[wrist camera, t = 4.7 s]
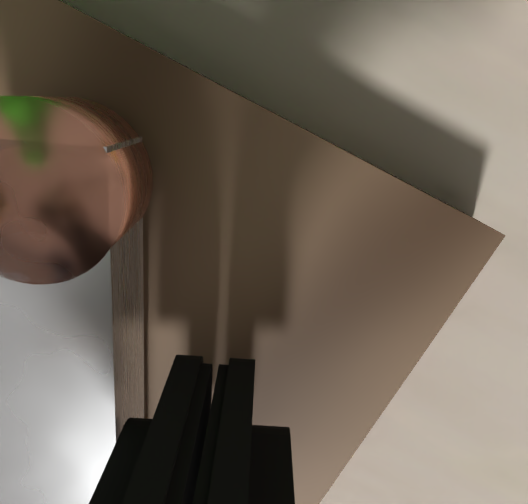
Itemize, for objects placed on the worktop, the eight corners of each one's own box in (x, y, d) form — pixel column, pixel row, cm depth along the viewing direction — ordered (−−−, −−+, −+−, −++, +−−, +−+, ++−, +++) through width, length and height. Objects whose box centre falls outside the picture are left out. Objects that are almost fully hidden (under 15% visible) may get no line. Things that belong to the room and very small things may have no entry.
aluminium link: (174, 650, 13) (159, 746, 11) (30, 643, 13) (-11, 738, 11) (186, 106, 8) (164, 107, 6) (-39, 87, 8) (-131, 83, 6)
